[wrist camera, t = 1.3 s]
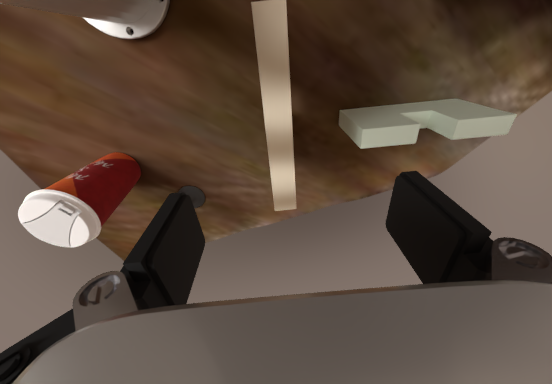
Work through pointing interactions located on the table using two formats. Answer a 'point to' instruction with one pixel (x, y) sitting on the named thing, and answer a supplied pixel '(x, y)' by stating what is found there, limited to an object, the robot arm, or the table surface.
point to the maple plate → (276, 96)
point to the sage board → (422, 122)
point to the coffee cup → (79, 201)
